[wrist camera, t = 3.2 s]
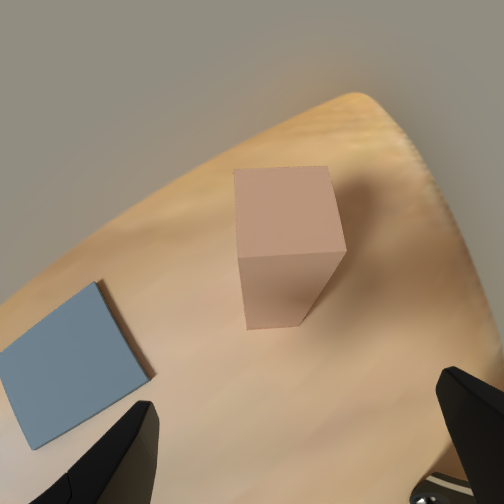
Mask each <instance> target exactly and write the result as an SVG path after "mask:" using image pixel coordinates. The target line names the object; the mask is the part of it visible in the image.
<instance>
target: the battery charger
mask: <svg viewBox="0 0 504 504" xmlns="http://www.w3.org/2000/svg"><path fill="white" fill-rule="evenodd" d="M409 501H410V504H476V502H475V499H474V496H473V493H472V490H471V487H470V485H469V482H467V481H463V480H459V479H456V478H453V477H450V476H447V475H444V474H441V473H438V472H435V473H433V474H432V475H431V476H430V475H429V476H428V477H427V478H426V479H425V481H424V482H422V483H421V484H420V485H419V486H418V487H417V488H416V489H415V490H414V492H413V493H412V494H411V496H410V500H409Z"/></svg>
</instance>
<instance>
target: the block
mask: <svg viewBox="0 0 504 504" xmlns="http://www.w3.org/2000/svg"><path fill="white" fill-rule="evenodd" d="M234 185H235V209H236V232H237V253H238V264H239V272H240V280H241V288H242V295H243V303H244V311H245V318H246V326H247V330H253V329H268V328H281V327H293V326H299V325H300V323H301V322H302V320H303V319H304V317H305V316H306V314H307V313H308V311H309V310H310V308H311V307H312V305H313V304H314V302H315V301H316V299H317V298H318V296H319V295H320V293H321V292H322V290H323V288H324V287H325V285H326V284H327V282H328V281H329V279H330V277H331V276H332V274H333V273H334V271H335V270H336V268H337V266H338V265H339V263H340V261H341V260H342V258H343V257H344V255H345V253H346V252H347V249H346V244H345V239H344V234H343V230H342V225H341V220H340V216H339V211H338V207H337V203H336V198H335V194H334V190H333V186H332V182H331V178H330V174H329V170H328V166H313V167H276V168H254V169H236V170H234Z"/></svg>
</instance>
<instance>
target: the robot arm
mask: <svg viewBox="0 0 504 504" xmlns="http://www.w3.org/2000/svg"><path fill="white" fill-rule="evenodd" d="M436 395H437V398H438V401H439V404H440V407H441V410H442V413H443V416H444V420H445V423H446V426H447V429H448V431H449V434H450V436H451V439H452V441H453V443H454V446H455V448H456V451H457V453H458V456H459V458H460V461H461V463H462V466H463V468H464V471H465V474H466V476H467V479H468V482H469V485H470V487H471V490H472V493H473V496H474V499H475V502H476V504H504V392H502V391H500V390H498V389H497V388H495V387H493V386H491V385H489V384H487V383H485V382H483V381H481V380H480V379H478V378H476V377H474V376H472V375H470V374H468V373H466V372H464V371H463V370H461V369H459V368H457V367H455V366H451V367H448V368H445V369H443V370H442V372H441V375H440V377H439V380H438V382H437V385H436ZM159 425H160V423H159V417H158V415H157V412H156V410H155V407H154V405H153V403H152V402H151V401H143V400H139V401H137V402H136V403H135V404H134V405H133V406H132V407H131V408H130V409H129V410H128V411H127V412H126V413H125V414H124V415H123V416H122V417H121V418H120V419H119V420H118V421H117V422H116V423H115V424H114V425H113V426H112V427H111V428H110V429H109V430H108V431H107V432H106V433H105V434H104V435H103V436H102V437H101V438H100V439H99V440H98V441H97V442H96V443H95V444H94V445H93V446H92V447H91V448H90V449H89V450H88V451H87V452H86V453H85V454H84V455H83V456H82V457H81V458H80V459H79V460H78V461H77V462H76V463H75V464H74V465H73V466H72V467H71V468H70V469H69V470H68V471H67V473H65V474H64V475H63V476H62V477H60V478H59V479H58V480H57V481H56V482H55V483H54V484H53V485H52V486H51V487H50V488H48V489H47V490H46V491H45V492H43V493H42V494H41V495H40V496H38V497H37V498H36V499H34V500H33V501H32V502H30V503H29V504H150V502H151V496H152V490H153V485H154V479H155V474H156V468H157V454H158V439H159Z"/></svg>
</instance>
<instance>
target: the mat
mask: <svg viewBox="0 0 504 504" xmlns="http://www.w3.org/2000/svg"><path fill="white" fill-rule="evenodd" d="M0 378H1V381H2V384H3V387H4V389H5V392H6V394H7V397H8V399H9V402H10V404H11V407H12V409H13V412H14V414H15V416H16V418H17V421H18V423H19V425H20V427H21V429H22V431H23V433H24V436H25V438H26V440H27V442H28V444H29V445H30V447H31V449H32V450H37V449H38V448H40V447H42V446H44V445H46V444H47V443H49V442H51V441H53V440H54V439H56V438H58V437H59V436H61V435H63V434H65V433H66V432H68V431H70V430H71V429H73V428H75V427H77V426H78V425H80V424H82V423H83V422H85V421H87V420H88V419H90V418H92V417H93V416H95V415H96V414H98V413H100V412H101V411H103V410H105V409H106V408H108V407H110V406H111V405H113V404H114V403H116V402H118V401H119V400H121V399H122V398H124V397H126V396H127V395H129V394H130V393H132V392H133V391H135V390H137V389H138V388H140V387H141V386H143V385H144V384H146V383H147V382H149V381H151V380H150V379H149V377H148V376H147V374H146V372H145V371H144V369H143V367H142V366H141V364H140V363H139V361H138V359H137V358H136V356H135V354H134V352H133V351H132V349H131V347H130V346H129V344H128V342H127V340H126V338H125V337H124V335H123V333H122V331H121V330H120V328H119V326H118V324H117V322H116V320H115V318H114V316H113V315H112V313H111V311H110V309H109V307H108V305H107V303H106V301H105V299H104V297H103V295H102V293H101V291H100V289H99V287H98V285H97V283H95V282H92V283H91V284H89V285H88V286H87V287H85V288H84V289H83V290H81V291H80V292H78V293H77V294H76V295H74V296H73V297H72V298H70V299H69V300H68V301H66V302H65V303H63V304H62V305H61V306H59V307H58V308H57V309H55V310H54V311H53V312H52V313H50V314H49V315H48V316H46V317H45V318H44V319H42V320H41V321H40V322H38V323H37V324H36V325H35V326H33V327H32V328H31V329H29V330H28V331H27V332H26V333H24V334H23V335H22V336H21V337H19V338H18V339H17V340H16V341H14V342H13V343H12V344H11V345H9V346H8V347H7V348H6V349H5V350H3V351H2V352H1V353H0Z"/></svg>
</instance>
